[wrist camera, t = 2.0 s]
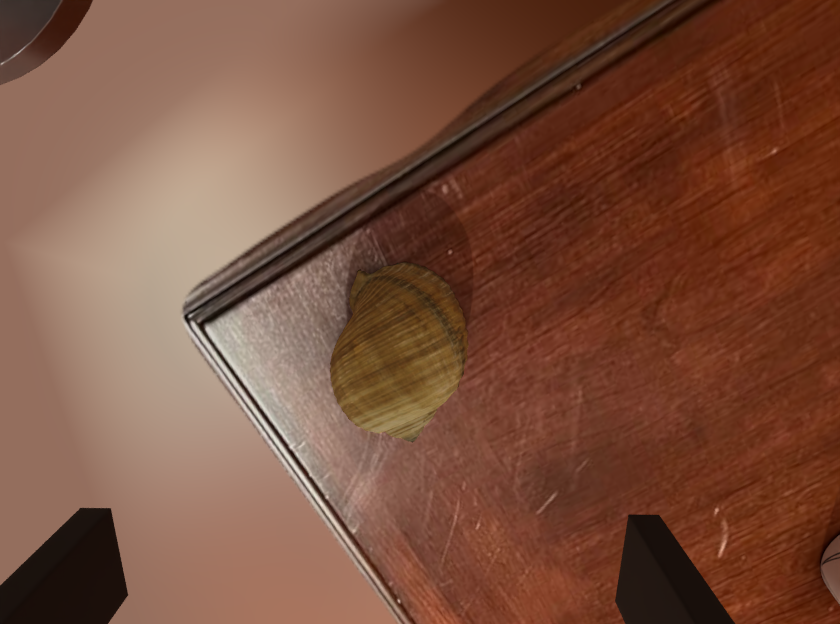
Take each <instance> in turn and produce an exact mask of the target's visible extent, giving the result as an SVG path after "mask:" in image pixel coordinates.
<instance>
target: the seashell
mask: <svg viewBox="0 0 840 624" xmlns="http://www.w3.org/2000/svg"><path fill="white" fill-rule="evenodd" d="M349 300H350V307H351V309H352V312H353V316H352V317H351V319H350V321H349V322H348V324H347V325H346V327H345V328H344V330H343V332H342V334H341V335H340V337H339V339H338V341H337V343H336V345H335V348H334V351H333V353H332V358H331V363H330V366H331V368H330V373H331V382H332V388H333V391H334V395H335V397H336V399H337V403H338V404H339V405H340V406H341V408H342V411H343V412H344V413H345V414H346V415H347V417H348V419H349V420H351V421H352V422H353V423H354V424H355V425H356V426H358V427H361V428H362V429H364V430H365V431H371V432H375V433H381V432H386V433H387V434H388V435H390V436H392V437H395V438H402V439H404V440H407V441H410V442H414V441H415V440H416V439H417V437H418V436H419V434H420V433H421V432H422V430H423V428H424V426H425V425H426V424H427V423H429V421H430V420H431V419H432V418H433V417H434V415H435V412H436V410H437V408H438V407H440V406H441V405H442V404H443V403H444V402H446V401H447V399H448V398H449V397H450V396H451V395H452V394H453V392H454V391H456V389H457V388H458V387H459V381H460V379H461V377H462V376H463V374H464V366H465V362H466V360H467V357H468V356H467V348H468V345H469V344H468V341H467V335H468V331H467V329H466V327H465V323H466V321H465V318H464V317H463V311H462V309H461V308H460V307H459V302H458V300H457V299H456V298H455V294H454V293H453V292H452V291H451V289H450V286H449V285H448V284H447V283H446V282H445V280H444V279H443V278H442V277H440V276H438V275H437V274H436V273H434V272H433V271H430V270H428V269H427V268H426V267H421V266H419V265H418V264H413V263H408V262H403V263H400V264H399V263H397V264H396V265H392V266H385V267H383V268H381V269H379V270H378V271H377V272H375V273H372V274H368V273H366V272H365V271H360V270H358V273H357V276H356V279H355V282H354V284H353V286H352V289H351V293H350V298H349Z"/></svg>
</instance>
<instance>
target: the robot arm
mask: <svg viewBox="0 0 840 624" xmlns="http://www.w3.org/2000/svg"><path fill="white" fill-rule="evenodd" d="M127 596H128V593H127V588H126V582H125V578H124V573H123V567H122V562H121V557H120V552H119V548H118V542H117V537H116V533H115V528H114V523H113V517H112V513H111V509H110V508H80V509H79V510H78V511H77V512H76V513H75V514H74V515H73V516H72V517H71V518H70V519H69V520H68V521H67V522H66V523H65V524H64V525H62V527H60V528H59V529H58V530H57V531H56V532H55V533H54V534H53V535H52V536H51V537H50V538H49V539H48V540H47V541H46V542H45V543H44V544H43V545H42V546H41V547H40V548H39V549H38V550H37V551H36V552H35V553H34V554H32V555H31V556H30V557H29V558H28V559H27V560H26V561H25V562H24V563H23V564H22V565H21V566H20V567H19V568H18V569H17V570H16V571H15V572H14V573H13V574H12V575H11V576H10V577H9V578H8V579H7V580H6V581H4V582H3V584H2V585H0V624H108V623H109V621H110V620H111V618H112V617H113V616H114V614H115V613H116V611H117V610H118V609H119V607H120V606H121V604H122V603H123V602H124V600H125V598H126V597H127ZM615 602H616V604H617V606H618V608H619V611H620V613H621V615H622V617H623V619H624V622H625V624H735V623H734V622H733V620H732V619H731V617H730V616H729V614H728V613H727V612H726V610H725V609H724V607H723V606H722V604H721V603H720V602H719V600H718V599H717V597H716V596H715V594H714V593H713V591H712V590H711V589H710V587H709V586H708V584H707V583H706V581H705V580H704V579H703V577H702V576H701V574H700V573H699V571H698V570H697V569H696V567H695V566H694V564H693V563H692V561H691V560H690V559H689V557H688V556H687V554H686V553H685V551H684V550H683V549H682V547H681V546H680V544H679V543H678V541H677V540H676V539H675V537H674V536H673V534H672V533H671V531H670V530H669V529H668V527H667V526H666V524H665V523H664V521H663V520H662V519H661V517H660V516H659V515H629V516H628V522H627V528H626V535H625V541H624V548H623V554H622V561H621V567H620V574H619V580H618V587H617V593H616V599H615Z"/></svg>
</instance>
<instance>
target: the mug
mask: <svg viewBox="0 0 840 624" xmlns="http://www.w3.org/2000/svg"><path fill="white" fill-rule="evenodd" d="M821 574H822V577H823V580H824V582H825V584H826V586H827V587H828V589H829V590H830V592H831V593H832V595H833V596H834V598H835V599H836V600H837V602H838V603H839V604H840V535H839V536H837V537H836V538H835V539H834V540H833V541H832V542H831V543H830V545H829V546H828V547H827V549H826V550H825V552H824V555H823V557H822V560H821Z"/></svg>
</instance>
